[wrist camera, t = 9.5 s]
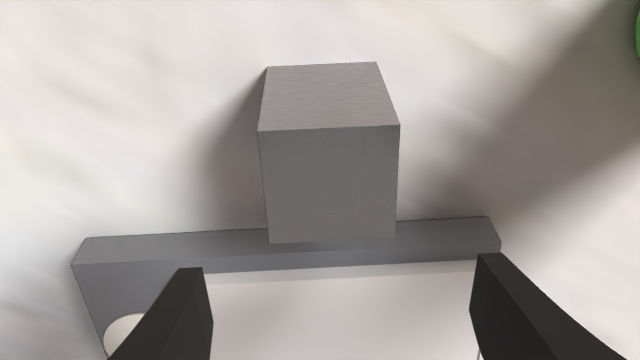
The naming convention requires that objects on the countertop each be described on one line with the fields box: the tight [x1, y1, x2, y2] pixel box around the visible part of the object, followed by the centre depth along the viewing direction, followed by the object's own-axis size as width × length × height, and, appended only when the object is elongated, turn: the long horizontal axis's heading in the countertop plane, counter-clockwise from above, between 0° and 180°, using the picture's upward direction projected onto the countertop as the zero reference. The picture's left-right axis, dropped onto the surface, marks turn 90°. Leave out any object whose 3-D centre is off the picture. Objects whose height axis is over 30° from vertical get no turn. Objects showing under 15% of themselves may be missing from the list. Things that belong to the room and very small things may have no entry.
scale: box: [71, 217, 501, 360], centre depth 28 cm, size 20×16×3 cm
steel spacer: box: [257, 62, 400, 244], centre depth 20 cm, size 4×4×6 cm
